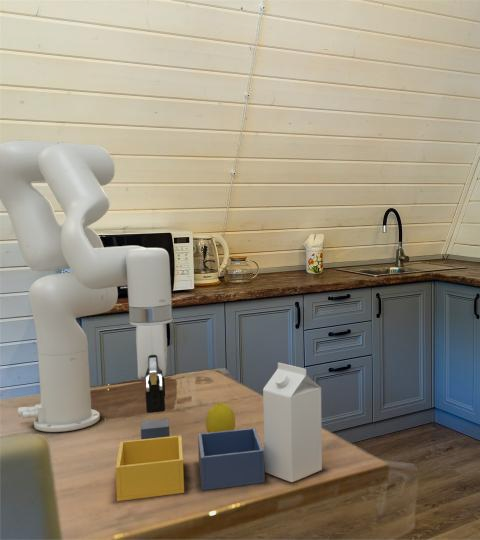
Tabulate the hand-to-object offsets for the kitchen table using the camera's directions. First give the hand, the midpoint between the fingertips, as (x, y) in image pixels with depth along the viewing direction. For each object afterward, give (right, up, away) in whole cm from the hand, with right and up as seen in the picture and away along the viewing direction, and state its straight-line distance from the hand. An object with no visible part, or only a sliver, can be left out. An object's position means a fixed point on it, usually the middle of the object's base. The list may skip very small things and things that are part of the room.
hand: (156, 404), depth 136 cm
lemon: (+11, -9, +5) cm, 15 cm away
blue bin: (+16, -10, -10) cm, 22 cm away
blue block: (0, -9, +1) cm, 9 cm away
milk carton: (+27, -10, -9) cm, 31 cm away
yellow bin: (+4, -11, -14) cm, 18 cm away
